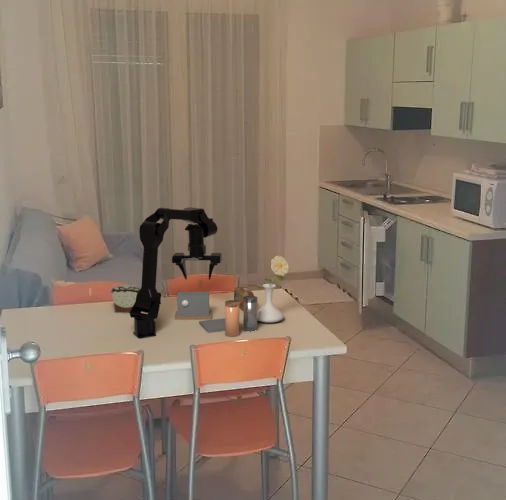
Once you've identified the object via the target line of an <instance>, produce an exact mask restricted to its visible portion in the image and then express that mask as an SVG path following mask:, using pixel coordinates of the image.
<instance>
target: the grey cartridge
mask: <svg viewBox="0 0 506 500" xmlns="http://www.w3.org/2000/svg"><path fill="white" fill-rule="evenodd" d="M257 311H258V296H255V295H254V296H245V297H244V311H243V316H242V317H243V326H242V329H243V331H244V332H247V331H250V332H249V333H252V332H251V331H254V332H256V331H255V330H257V331H258V320H257Z"/></svg>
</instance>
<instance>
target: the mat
mask: <svg viewBox="0 0 506 500" xmlns="http://www.w3.org/2000/svg"><path fill="white" fill-rule="evenodd" d="M198 324H199V325H200V327H202V328H203V329H204V330H205V331H206V333H208V334H209V333H216V332H217V333H218V332H225V317H223V318H216V319H204V320H199V321H198Z"/></svg>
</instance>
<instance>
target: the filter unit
mask: <svg viewBox="0 0 506 500" xmlns="http://www.w3.org/2000/svg"><path fill="white" fill-rule="evenodd" d="M176 306H177V307H176V308H177V309H176V311H175V314H174V321H175V320H213V319H212V318H213V317H212V316H213V310H210V291H178V292H177V295H176Z"/></svg>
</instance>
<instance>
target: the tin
mask: <svg viewBox="0 0 506 500" xmlns="http://www.w3.org/2000/svg"><path fill="white" fill-rule="evenodd" d="M245 296H255V294H254V292H253V291H252V290H250V289H248V288H246V287H244V286H236V287H235V289H234V291H233V300H236V301H239V310H241V311H243V312H244V297H245Z"/></svg>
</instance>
